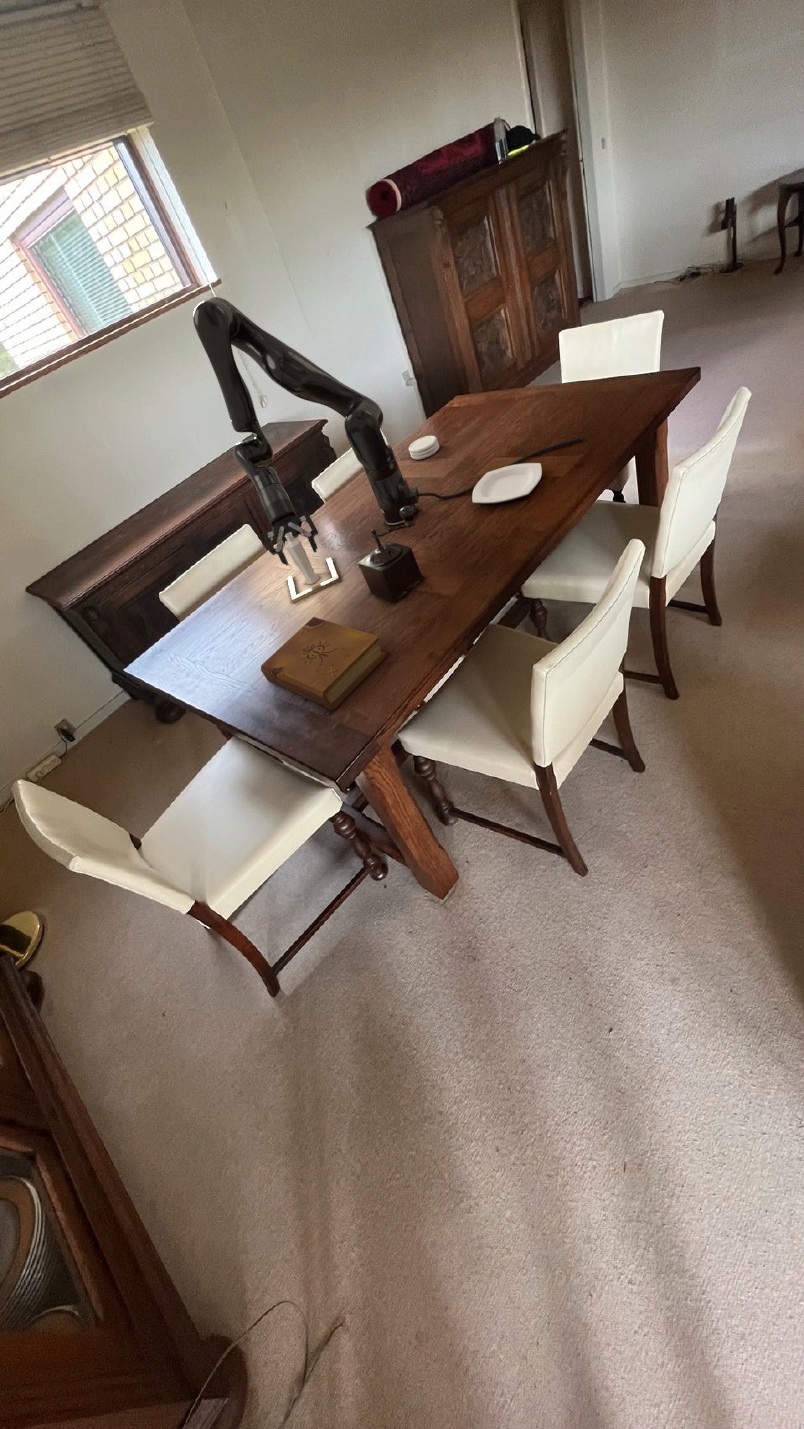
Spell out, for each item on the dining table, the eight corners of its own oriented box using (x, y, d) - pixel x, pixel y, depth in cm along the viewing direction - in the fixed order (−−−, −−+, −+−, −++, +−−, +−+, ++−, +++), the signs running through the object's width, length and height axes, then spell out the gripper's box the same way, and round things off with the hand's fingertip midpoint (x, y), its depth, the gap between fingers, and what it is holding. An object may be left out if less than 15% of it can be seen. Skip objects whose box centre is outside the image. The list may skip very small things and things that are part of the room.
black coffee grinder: (396, 603, 153) (369, 541, 141) (370, 593, 160) (341, 533, 149) (440, 567, 157) (417, 503, 146) (412, 559, 165) (388, 497, 153)
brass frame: (288, 580, 181) (286, 578, 181) (332, 560, 181) (330, 557, 180) (293, 602, 171) (291, 600, 171) (340, 581, 171) (338, 578, 170)
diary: (270, 685, 148) (258, 667, 144) (323, 634, 155) (313, 616, 151) (331, 712, 133) (320, 693, 129) (387, 655, 140) (377, 635, 136)
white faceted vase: (318, 583, 174) (293, 537, 164) (304, 586, 176) (279, 540, 166) (322, 573, 177) (298, 527, 167) (308, 576, 179) (284, 531, 169)
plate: (466, 512, 172) (464, 506, 171) (484, 476, 183) (482, 470, 182) (534, 502, 163) (533, 496, 161) (549, 465, 174) (548, 458, 173)
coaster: (444, 443, 210) (441, 433, 208) (431, 459, 205) (427, 449, 203) (420, 446, 216) (417, 436, 213) (406, 461, 211) (402, 451, 209)
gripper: (249, 511, 168) (274, 565, 167) (297, 488, 168) (321, 542, 167) (258, 521, 176) (281, 572, 175) (303, 499, 175) (327, 551, 174)
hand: (301, 557), depth 171 cm, fingers open, 8 cm apart
